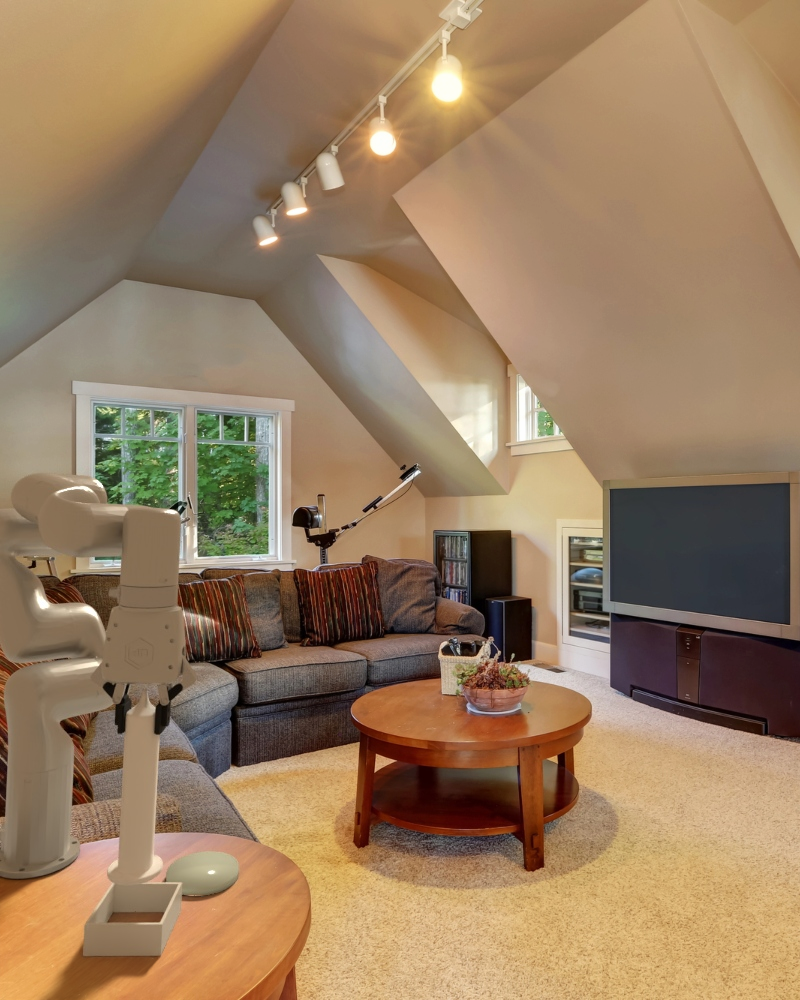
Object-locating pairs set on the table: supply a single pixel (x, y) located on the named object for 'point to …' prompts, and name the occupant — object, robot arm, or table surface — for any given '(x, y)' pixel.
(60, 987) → the table surface
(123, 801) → the candle
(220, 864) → the pale green dome
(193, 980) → the table surface
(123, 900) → the tray
